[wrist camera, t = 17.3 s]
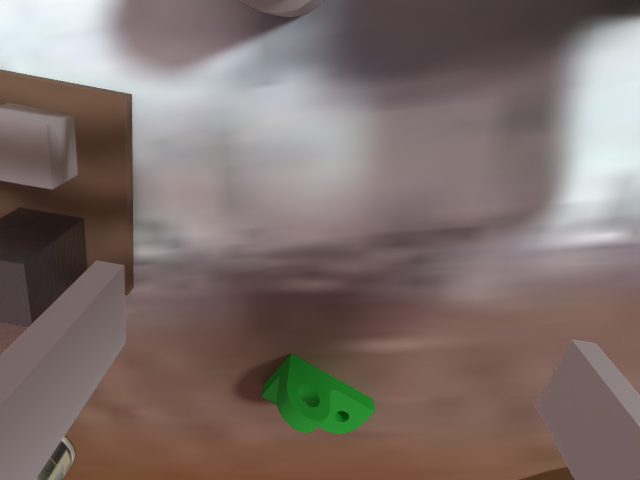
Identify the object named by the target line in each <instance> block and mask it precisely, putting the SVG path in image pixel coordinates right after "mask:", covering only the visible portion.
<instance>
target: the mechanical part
mask: <svg viewBox="0 0 640 480" xmlns="http://www.w3.org/2000/svg"><path fill="white" fill-rule="evenodd" d="M261 397H263V398H265V399H267V400H269V401H271V402H272V403H274V404H276V405H277V406H278V409H279V412H280V414H281V415H282V417H283V418H284V420H285V421H286V422H287V423H288V424H289V425H290V426H291V427H293V428H294V429H296V430H298V431H301V432H311V431H313V430H315V429H316V428H317V427H320V428H322V429H324V430H326V431H328V432H332V433H346V432H350V431H352V430H354V429H356V428H358V427H359V426H360V425H361V424H362V423H363V422H364V421H365V420H366V419H367V418H368V417H369V416H370V415H372V414H373V413H374V412H375V409H374V400H373V399H371V398H369V397H368V396H366V395H364V394H362V393H361V392H359V391H357V390H355V389H353V388H352V387H350V386H348V385H346V384H345V383H343V382H341V381H339V380H338V379H336V378H334V377H332V376H330V375H329V374H327V373H325V372H323V371H322V370H320V369H318V368H316V367H314V366H313V365H311V364H309V363H307V362H306V361H304V360H302V359H300V358H299V357H297V356H295V355H293V354H290V355H289V356H288V357H287V358H286V360H285V361H284V362H283V363H282V364H281V365H280V366H279V368H278V369H277V370H276V371H275V372H274V373H273V374H272V376H271V377H270V378H269V379H268V380H267V381H266V382H265V384H264V385H263V389H262V394H261Z"/></svg>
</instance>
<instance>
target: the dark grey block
mask: <svg viewBox="0 0 640 480" xmlns="http://www.w3.org/2000/svg"><path fill="white" fill-rule="evenodd" d="M86 270H87V255H86V239H85V223H84V218H79V217H74V216H68V215H62V214H56V213H50V212H44V211H39V210H33V209H27V208H21V207H19V208H17V209H16V210H14V211H12V212H10V213H9V214H7V215H5V216H3V217H2V218H0V322H3V323H9V324H16V325H22V326H30V325H31V324H32V323H33V322H34V321H35V320H36V319H37V318H38V317H40V316H41V315H42V314H43V313H44V312H45V311H46V310H47V309H48V308H49V307H50V306H51V305H52V304H53V303H54V302H55V301H56V300H57V299H58V298H59V297H60V296H61V295H62V294H63V293H64V292H65V291H66V290H67V289H68V288H69V287H70V286H71V285H72V284H73V283H74V282H75V281H76V280H77V279H78V278H79V277H80V276H81V275H82V274H83V273H84V272H85V271H86Z"/></svg>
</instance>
